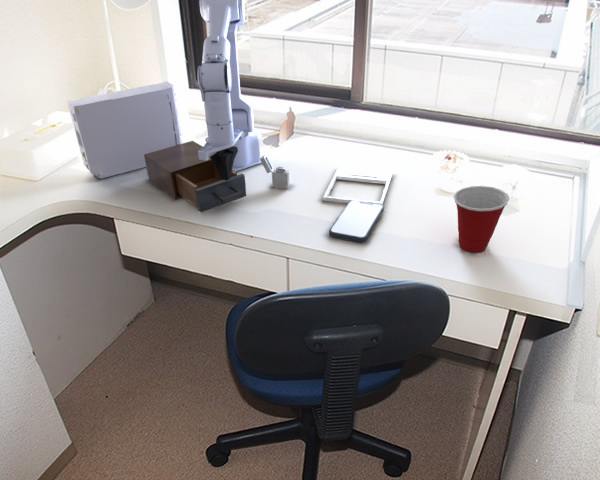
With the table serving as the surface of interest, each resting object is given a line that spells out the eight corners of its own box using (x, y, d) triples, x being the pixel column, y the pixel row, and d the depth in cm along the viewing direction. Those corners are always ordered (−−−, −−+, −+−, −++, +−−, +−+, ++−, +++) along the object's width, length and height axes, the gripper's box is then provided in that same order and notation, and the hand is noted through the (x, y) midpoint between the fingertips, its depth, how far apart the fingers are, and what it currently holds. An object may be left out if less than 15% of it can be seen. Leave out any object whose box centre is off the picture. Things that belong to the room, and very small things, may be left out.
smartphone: (365, 245, 121) (385, 211, 132) (365, 239, 120) (385, 205, 131) (326, 237, 124) (349, 204, 135) (327, 231, 123) (349, 199, 134)
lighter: (289, 186, 144) (288, 156, 139) (287, 189, 143) (286, 159, 138) (263, 183, 146) (261, 154, 141) (261, 186, 144) (259, 156, 139)
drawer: (257, 203, 135) (256, 181, 132) (211, 220, 128) (208, 198, 125) (217, 178, 146) (215, 158, 143) (173, 193, 140) (169, 172, 136)
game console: (186, 157, 160) (176, 86, 148) (93, 181, 148) (73, 106, 136) (178, 150, 164) (167, 81, 152) (86, 174, 152) (66, 100, 140)
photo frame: (392, 171, 147) (382, 202, 133) (392, 175, 148) (382, 206, 134) (338, 166, 150) (323, 196, 136) (338, 170, 151) (323, 200, 137)
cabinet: (223, 183, 146) (220, 156, 142) (175, 199, 139) (170, 172, 134) (196, 166, 155) (192, 140, 151) (149, 180, 148) (143, 154, 143)
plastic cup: (447, 230, 125) (456, 181, 117) (497, 236, 122) (509, 186, 115) (443, 255, 117) (451, 204, 109) (497, 263, 114) (509, 211, 107)
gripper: (224, 108, 128) (229, 163, 136) (183, 128, 118) (192, 187, 126) (249, 113, 125) (253, 169, 133) (210, 134, 115) (217, 193, 123)
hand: (225, 178), depth 129 cm, fingers closed
